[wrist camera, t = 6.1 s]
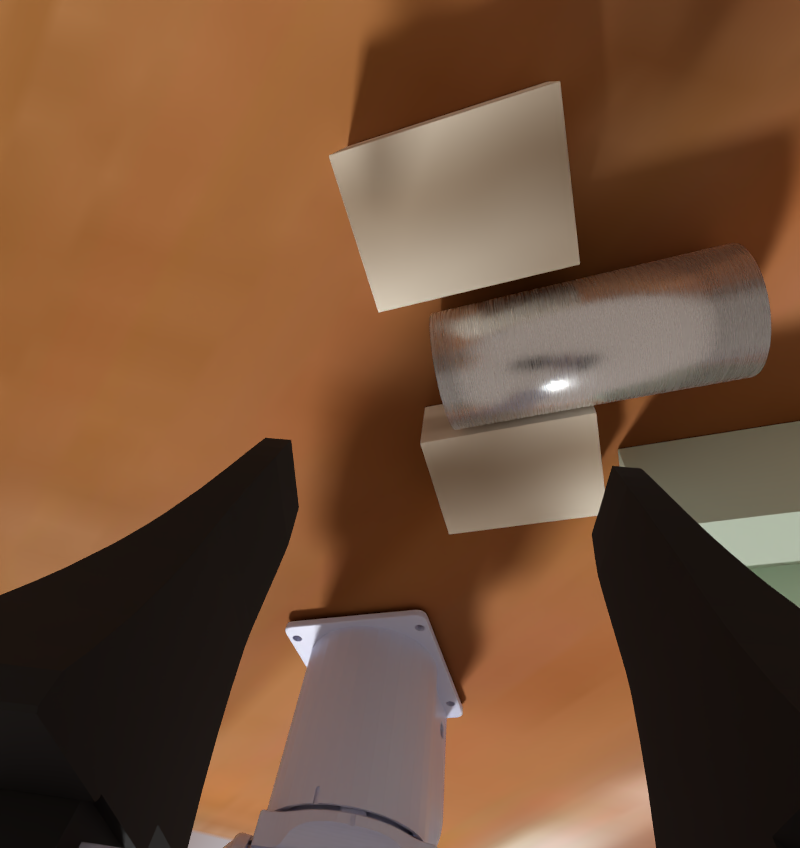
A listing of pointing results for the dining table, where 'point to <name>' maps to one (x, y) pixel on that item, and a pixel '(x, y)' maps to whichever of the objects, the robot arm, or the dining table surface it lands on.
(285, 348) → the dining table surface
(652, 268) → the axle
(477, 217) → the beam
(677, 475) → the v block
